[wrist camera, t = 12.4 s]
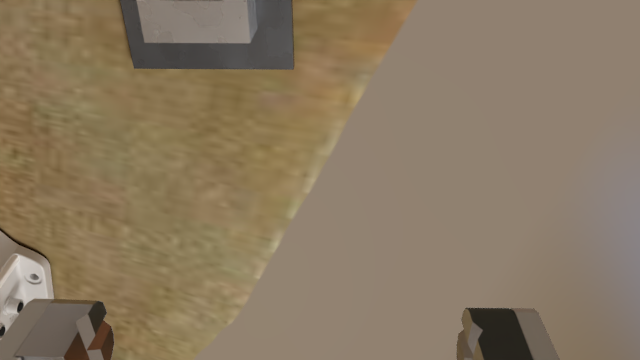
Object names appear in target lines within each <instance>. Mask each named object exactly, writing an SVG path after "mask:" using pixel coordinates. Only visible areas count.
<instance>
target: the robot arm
mask: <svg viewBox="0 0 640 360" xmlns="http://www.w3.org/2000/svg"><path fill="white" fill-rule="evenodd" d="M106 313H107V312H106V309H105V306H104V304H103V302H100V301H90V300H67V299H54V295H53V286H52V278H51V270H50V264H49V262H48V260H47V259H46V258H45V257H43V256H42V255H40V254H38V253H36V252H34V251H32V250H30V249H27V248H25V247H23V246H20V245H18V244H17V243H15V242H14V241H12V240H11V239H10V238H8V237H7V236H6V235H5V234H4V233H2V232H1V231H0V360H111V357H112V353H113V347H114V334H113V331H112V327H111V326H110V325H109V324H107V323H106V322H105V321H104V320H103V319H104V317H105V315H106ZM461 320H462V325H463V328H464V330H463V331H462V332H460V333H459V335H458V340H457V360H560V359H559V357H558V355H557V353H556V350H555V348H554V346H553V344H552V342H551V339H550V337H549V335H548V333H547V331H546V329H545V326H544V324H543V322H542V320H541V318H540V316H539V313H538V312H537V311H536V310H535V309H526V308H511V309H509V308H465V310H464V311H463V315H462V319H461Z"/></svg>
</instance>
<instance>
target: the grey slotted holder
mask: <svg viewBox="0 0 640 360" xmlns="http://www.w3.org/2000/svg"><path fill="white" fill-rule="evenodd" d="M120 2H121V7H122V12H123V17H124V21H125V26H126V31H127V36H128V41H129V46H130V51H131V56H132V61H133V66H134V68H143V69H294V41H293V9H292V0H120Z"/></svg>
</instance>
